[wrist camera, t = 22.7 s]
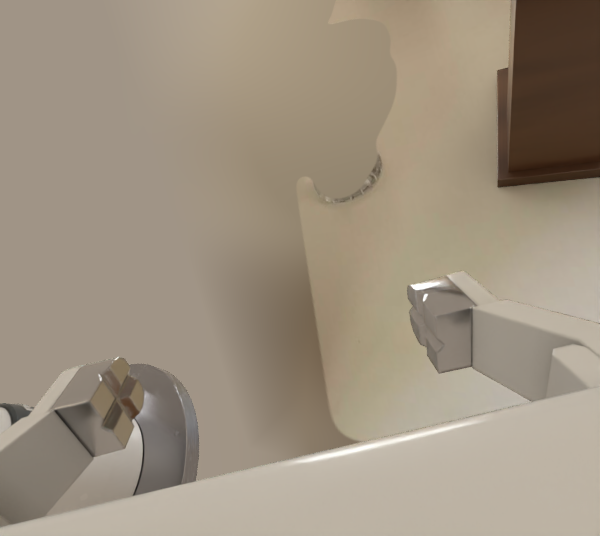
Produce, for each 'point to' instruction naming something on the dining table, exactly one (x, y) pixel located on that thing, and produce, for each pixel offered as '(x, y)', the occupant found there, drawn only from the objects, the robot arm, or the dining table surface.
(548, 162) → the stand
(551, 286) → the dining table surface
